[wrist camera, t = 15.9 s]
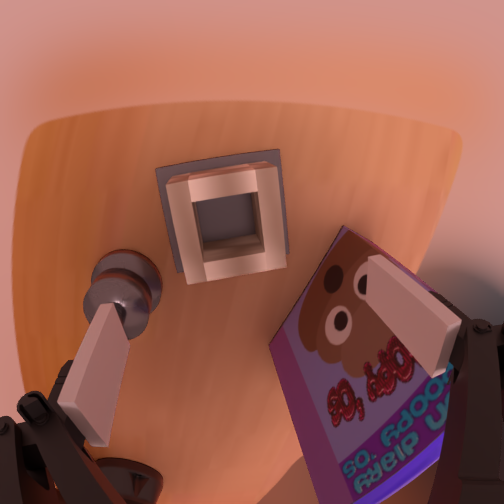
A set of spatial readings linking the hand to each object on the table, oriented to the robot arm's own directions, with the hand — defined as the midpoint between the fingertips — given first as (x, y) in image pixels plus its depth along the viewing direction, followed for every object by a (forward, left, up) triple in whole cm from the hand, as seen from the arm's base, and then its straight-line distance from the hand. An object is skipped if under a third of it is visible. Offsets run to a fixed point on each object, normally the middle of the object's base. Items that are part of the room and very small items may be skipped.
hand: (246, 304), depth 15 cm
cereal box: (+10, -12, -18) cm, 23 cm away
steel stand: (-12, -6, -17) cm, 22 cm away
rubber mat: (0, 0, -17) cm, 17 cm away
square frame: (0, 0, -17) cm, 17 cm away
